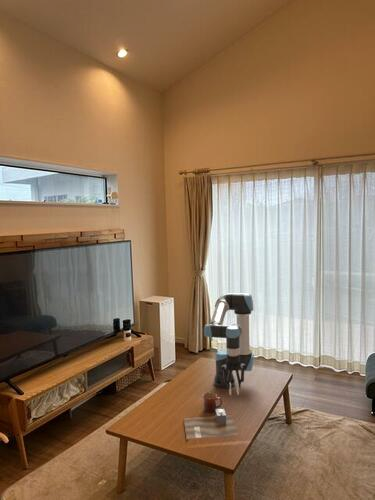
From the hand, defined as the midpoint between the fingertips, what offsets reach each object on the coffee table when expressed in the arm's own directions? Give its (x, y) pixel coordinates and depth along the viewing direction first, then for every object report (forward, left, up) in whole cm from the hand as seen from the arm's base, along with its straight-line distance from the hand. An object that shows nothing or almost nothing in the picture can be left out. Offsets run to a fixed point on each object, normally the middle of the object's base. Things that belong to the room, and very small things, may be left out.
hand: (234, 393), depth 211 cm
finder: (0, -8, -15) cm, 17 cm away
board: (+4, -15, -17) cm, 23 cm away
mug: (-12, -11, -17) cm, 23 cm away
